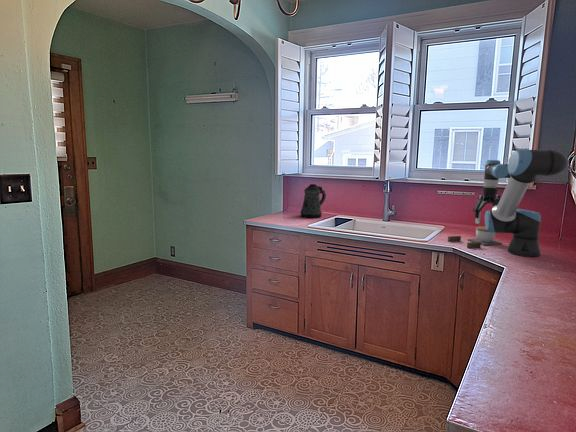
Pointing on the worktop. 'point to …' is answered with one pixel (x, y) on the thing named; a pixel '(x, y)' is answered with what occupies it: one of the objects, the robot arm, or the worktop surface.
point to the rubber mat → (485, 242)
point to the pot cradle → (469, 245)
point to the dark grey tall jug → (312, 202)
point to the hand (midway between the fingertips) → (486, 223)
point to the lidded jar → (484, 234)
